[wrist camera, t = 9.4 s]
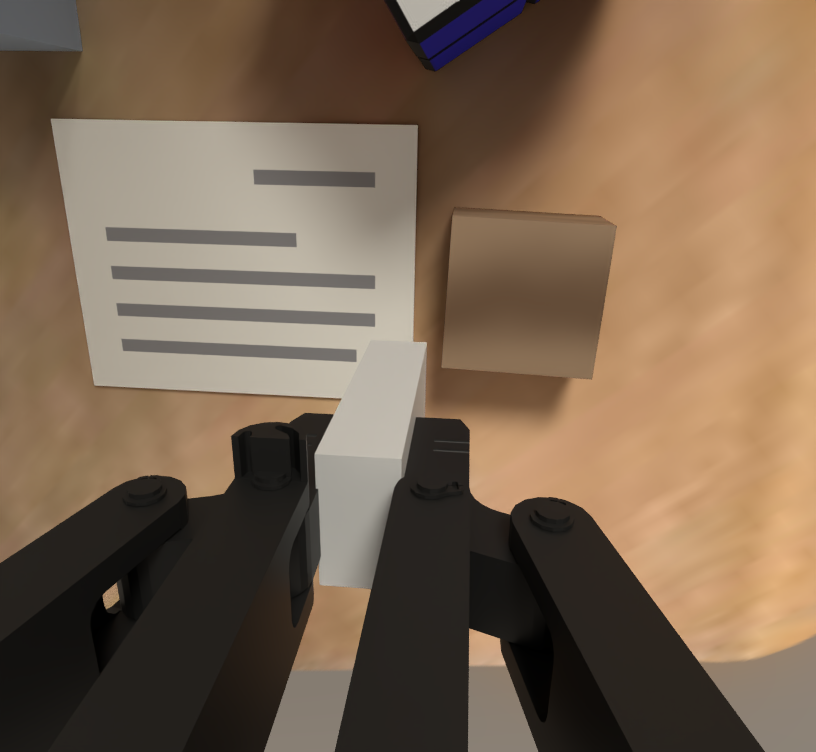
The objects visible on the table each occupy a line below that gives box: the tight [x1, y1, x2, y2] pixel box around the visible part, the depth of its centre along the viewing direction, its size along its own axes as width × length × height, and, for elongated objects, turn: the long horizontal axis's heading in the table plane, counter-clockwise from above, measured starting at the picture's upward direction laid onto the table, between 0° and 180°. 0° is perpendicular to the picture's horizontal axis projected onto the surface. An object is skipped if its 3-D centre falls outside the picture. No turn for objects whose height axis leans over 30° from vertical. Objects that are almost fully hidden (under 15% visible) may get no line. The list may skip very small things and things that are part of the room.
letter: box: [51, 119, 418, 398], centre depth 33 cm, size 14×18×1 cm
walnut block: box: [441, 207, 617, 379], centre depth 31 cm, size 7×7×4 cm
